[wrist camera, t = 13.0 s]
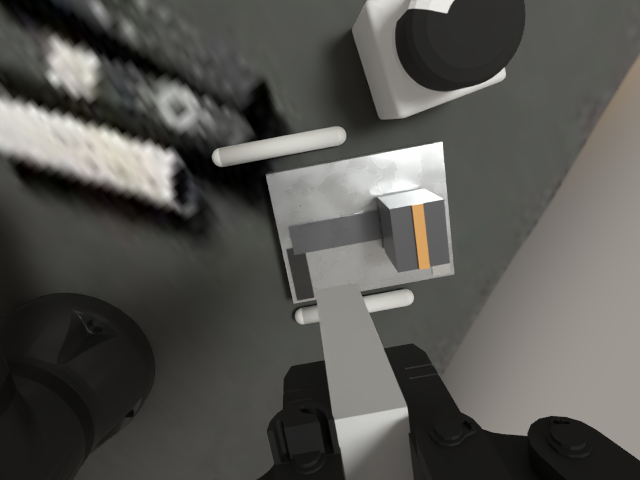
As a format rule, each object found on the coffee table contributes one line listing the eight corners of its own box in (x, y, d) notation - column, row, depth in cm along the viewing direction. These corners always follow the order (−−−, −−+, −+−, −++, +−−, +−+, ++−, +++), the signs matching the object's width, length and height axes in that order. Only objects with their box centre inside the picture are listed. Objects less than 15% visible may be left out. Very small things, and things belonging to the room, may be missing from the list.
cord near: (216, 167, 35) (212, 169, 34) (212, 149, 35) (207, 150, 33) (346, 143, 35) (348, 144, 33) (343, 124, 35) (345, 124, 33)
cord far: (296, 320, 40) (296, 328, 38) (293, 306, 39) (293, 313, 38) (412, 299, 39) (416, 306, 38) (410, 285, 39) (414, 291, 37)
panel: (294, 294, 39) (293, 304, 37) (267, 172, 35) (265, 175, 33) (446, 266, 39) (455, 275, 36) (434, 140, 35) (443, 142, 33)
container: (464, 88, 34) (557, 67, 22) (378, 121, 35) (421, 118, 22) (440, -8, 32) (528, -93, 20) (349, 28, 33) (379, -33, 20)
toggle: (385, 252, 35) (398, 273, 30) (377, 197, 34) (390, 209, 29) (429, 244, 35) (450, 264, 30) (424, 188, 34) (444, 199, 29)
